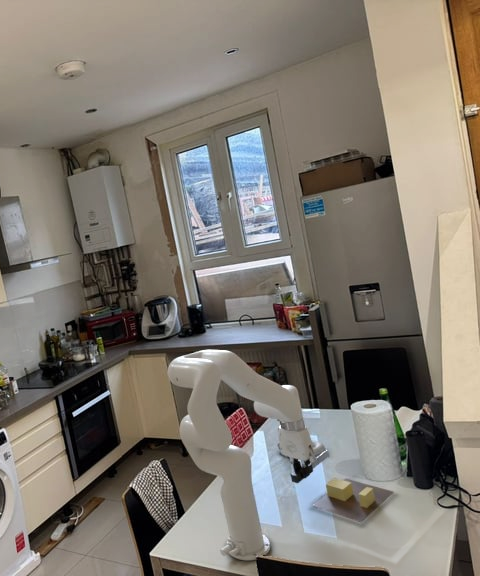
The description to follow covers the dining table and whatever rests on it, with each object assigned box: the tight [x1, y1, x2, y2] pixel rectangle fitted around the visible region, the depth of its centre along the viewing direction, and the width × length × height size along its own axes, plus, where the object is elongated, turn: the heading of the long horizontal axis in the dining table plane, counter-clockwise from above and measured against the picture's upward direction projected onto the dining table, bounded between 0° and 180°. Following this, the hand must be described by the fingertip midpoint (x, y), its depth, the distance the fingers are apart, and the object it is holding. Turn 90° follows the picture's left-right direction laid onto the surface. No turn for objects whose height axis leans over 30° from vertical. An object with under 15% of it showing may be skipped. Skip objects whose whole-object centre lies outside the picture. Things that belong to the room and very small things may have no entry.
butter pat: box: [359, 487, 375, 508], centre depth 157 cm, size 5×2×4 cm, turn 124°
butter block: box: [325, 477, 353, 501], centre depth 164 cm, size 5×6×4 cm
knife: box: [290, 449, 329, 484], centre depth 171 cm, size 20×2×3 cm, turn 124°
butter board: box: [311, 478, 394, 523], centre depth 161 cm, size 20×16×1 cm
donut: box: [311, 439, 326, 458], centre depth 198 cm, size 10×4×10 cm
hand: (302, 475), depth 168 cm, fingers closed on knife, 2 cm apart
